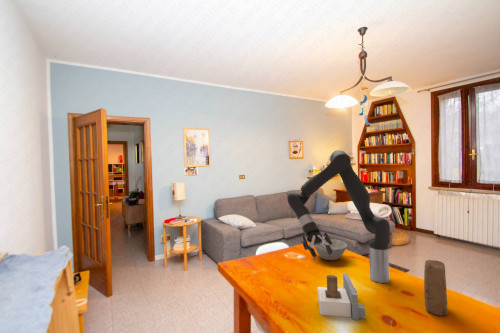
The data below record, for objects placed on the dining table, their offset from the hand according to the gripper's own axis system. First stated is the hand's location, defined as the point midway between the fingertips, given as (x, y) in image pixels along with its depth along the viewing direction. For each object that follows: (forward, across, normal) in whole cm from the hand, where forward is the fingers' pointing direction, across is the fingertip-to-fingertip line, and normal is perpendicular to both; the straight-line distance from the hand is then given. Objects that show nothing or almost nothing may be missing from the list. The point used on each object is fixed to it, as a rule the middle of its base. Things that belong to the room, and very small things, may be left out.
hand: (323, 255), depth 112 cm
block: (+32, +38, -2) cm, 49 cm away
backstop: (+21, +8, +8) cm, 24 cm away
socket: (+19, 0, +10) cm, 22 cm away
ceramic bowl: (-14, +34, +44) cm, 57 cm away
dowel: (+18, 0, +10) cm, 21 cm away
